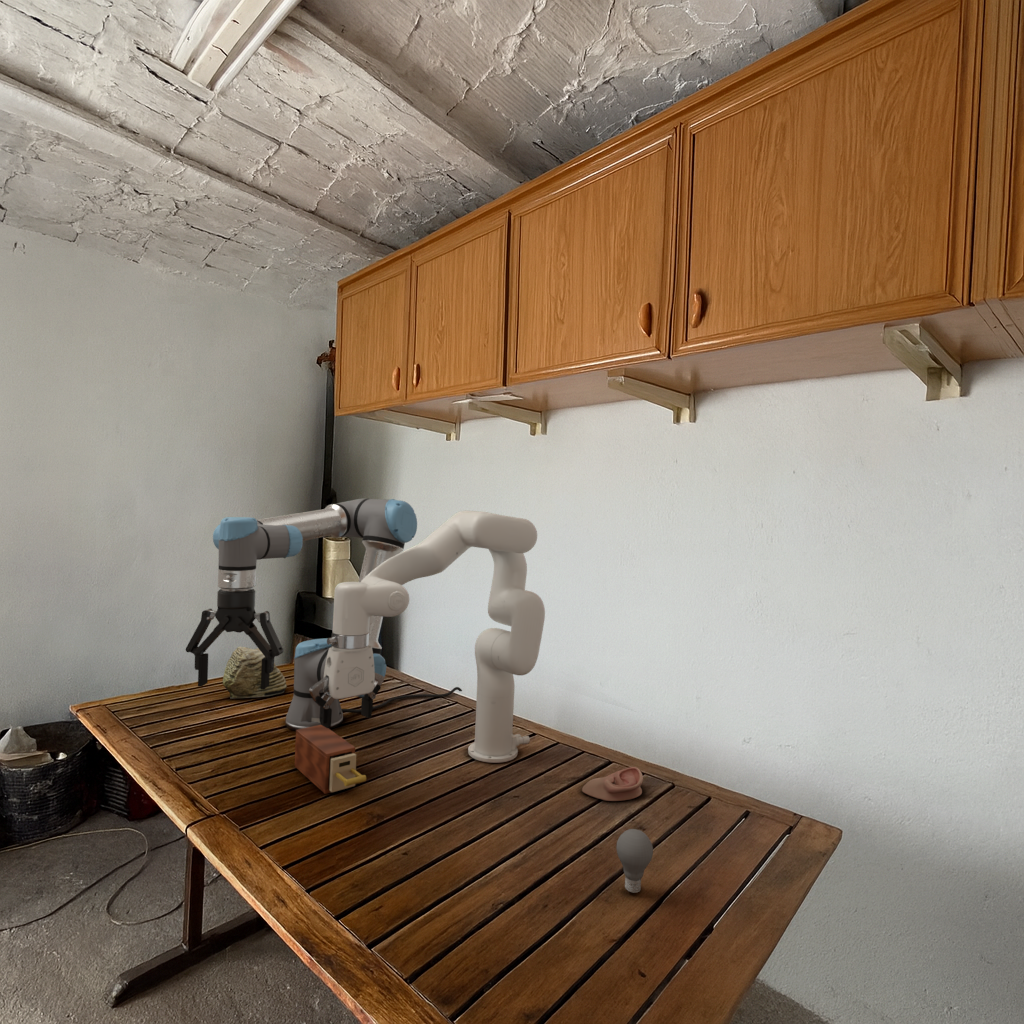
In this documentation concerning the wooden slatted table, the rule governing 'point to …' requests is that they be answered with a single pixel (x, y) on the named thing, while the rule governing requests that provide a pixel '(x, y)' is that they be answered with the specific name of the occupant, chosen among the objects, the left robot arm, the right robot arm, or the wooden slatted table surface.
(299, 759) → the cabinet
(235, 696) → the fossil
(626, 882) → the light bulb
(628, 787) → the anatomical model
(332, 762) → the drawer
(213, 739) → the wooden slatted table surface
